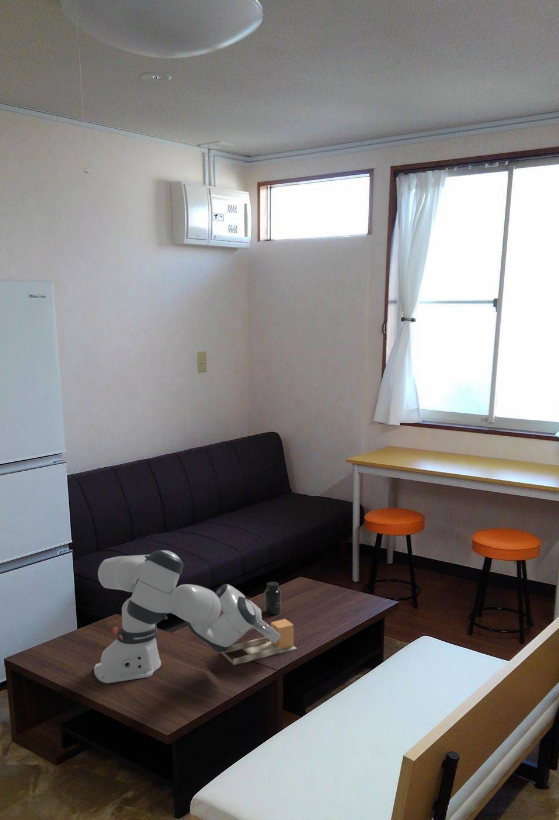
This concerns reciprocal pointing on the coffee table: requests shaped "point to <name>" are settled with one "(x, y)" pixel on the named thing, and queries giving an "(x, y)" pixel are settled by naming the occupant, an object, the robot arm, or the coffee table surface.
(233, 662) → the chute
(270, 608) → the supplement bottle
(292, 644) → the orange block
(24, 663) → the coffee table surface
